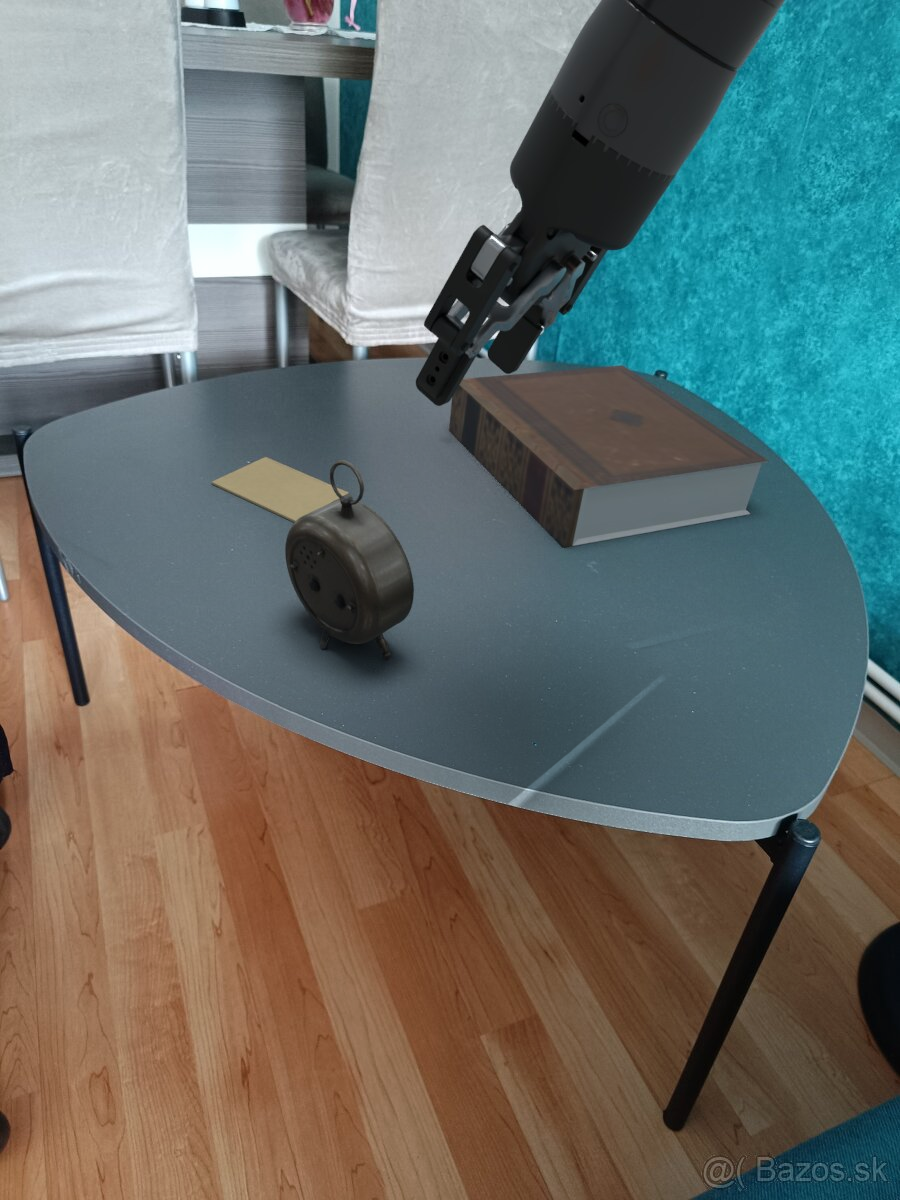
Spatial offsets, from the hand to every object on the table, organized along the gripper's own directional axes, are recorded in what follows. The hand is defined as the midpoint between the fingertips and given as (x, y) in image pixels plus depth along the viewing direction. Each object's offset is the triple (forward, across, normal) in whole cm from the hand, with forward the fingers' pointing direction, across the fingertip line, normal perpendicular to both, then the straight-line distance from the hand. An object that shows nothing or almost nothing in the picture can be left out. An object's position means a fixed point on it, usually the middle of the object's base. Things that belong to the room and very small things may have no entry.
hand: (466, 379), depth 52 cm
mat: (+33, -16, -17) cm, 41 cm away
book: (+22, -43, +4) cm, 49 cm away
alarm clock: (+26, 0, +2) cm, 26 cm away
